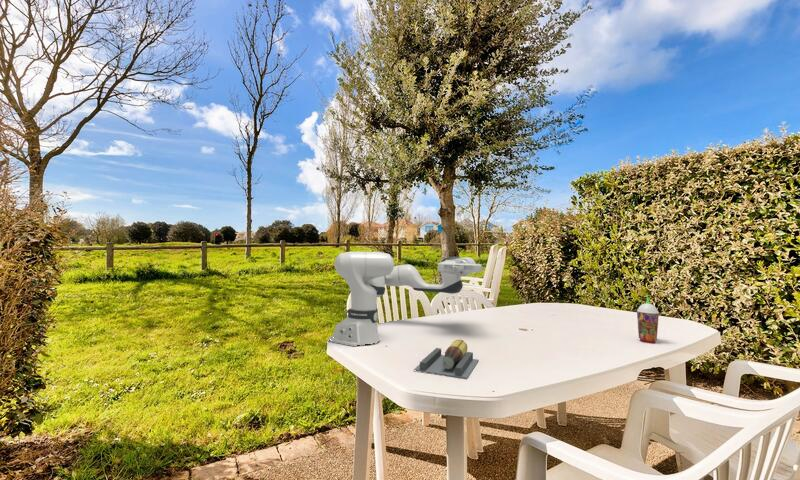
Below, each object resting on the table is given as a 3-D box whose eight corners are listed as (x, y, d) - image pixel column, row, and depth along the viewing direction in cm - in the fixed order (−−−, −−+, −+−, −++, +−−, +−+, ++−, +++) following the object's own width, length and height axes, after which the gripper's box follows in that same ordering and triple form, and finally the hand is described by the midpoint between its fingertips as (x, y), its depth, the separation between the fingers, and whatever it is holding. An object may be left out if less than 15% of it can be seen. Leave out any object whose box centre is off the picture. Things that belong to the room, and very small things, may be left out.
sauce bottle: (449, 349, 140) (433, 364, 122) (456, 335, 139) (441, 348, 121) (464, 359, 138) (450, 376, 120) (472, 345, 137) (459, 360, 119)
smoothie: (640, 343, 162) (640, 298, 163) (634, 338, 170) (634, 295, 171) (662, 344, 160) (662, 299, 160) (654, 340, 168) (655, 296, 168)
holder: (413, 371, 122) (413, 362, 122) (431, 354, 141) (431, 347, 141) (467, 379, 115) (467, 369, 115) (478, 361, 134) (478, 352, 134)
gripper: (484, 274, 173) (479, 276, 160) (442, 272, 180) (434, 274, 168) (484, 260, 173) (479, 262, 160) (442, 259, 180) (434, 260, 168)
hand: (456, 268), depth 164 cm, fingers closed
